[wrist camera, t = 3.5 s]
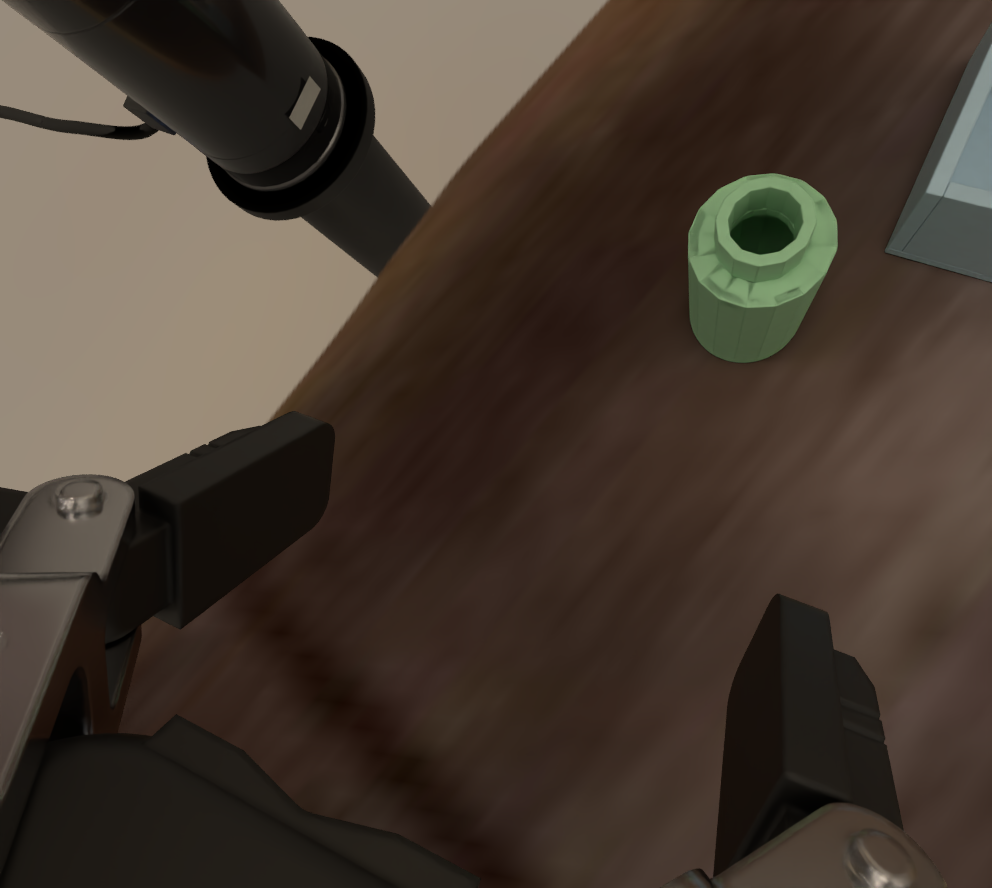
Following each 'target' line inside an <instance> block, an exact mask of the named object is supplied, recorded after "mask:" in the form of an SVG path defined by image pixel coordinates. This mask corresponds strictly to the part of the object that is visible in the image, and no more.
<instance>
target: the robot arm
mask: <svg viewBox="0 0 992 888" xmlns="http://www.w3.org/2000/svg"><path fill="white" fill-rule="evenodd" d="M2 1H4V2H5V3H6V4H8V5H9V6H10V7H11V8H13V9H14V10H16V11H17V12H18V13H19V14H21V15H22V16H23V17H25V18H26V19H27V20H29V21H30V22H31V23H33V24H34V25H36V26H37V27H38V28H40V29H41V30H42V31H44V32H45V33H46V34H47V35H49V36H50V37H52V38H53V39H54V40H56V41H57V42H58V43H59V44H61V45H62V46H63V47H65V48H66V49H67V50H68V51H70V52H71V53H72V54H74V55H75V56H76V57H78V58H79V59H80V60H82V61H83V62H84V63H86V64H87V65H88V66H89V67H91V68H92V69H93V70H95V71H96V72H97V73H99V74H100V75H101V76H103V77H104V78H105V79H107V80H108V81H109V82H110V83H112V84H113V85H114V86H116V87H117V88H118V89H120V90H121V91H122V92H124V93H125V94H126V95H127V98H126V100H125V103H124V105H123V106H124V107H125V108H126V109H128V110H129V111H130V112H132V113H133V114H134V115H136V116H137V117H138V118H140V119H141V120H142V121H144V122H145V123H143V124H141V125H136V126H112V125H104V124H96V123H89V122H82V121H73V120H61V119H55V118H49V117H45V116H41V115H37V114H33V113H30V112H26V111H23V110H19V109H15V108H11V107H6V106H1V105H0V118H4V119H9V120H14V121H18V122H22V123H25V124H29V125H32V126H36V127H39V128H43V129H47V130H51V131H56V132H62V133H71V134H80V135H88V136H95V137H102V138H110V139H119V140H138V139H144V138H148V137H150V136H152V135H153V134H155V133H157V132H158V131H159V130H160V131H163V132H166V133H169V134H172V135H175V134H176V133H177V134H179V135H180V136H181V137H183V138H184V139H185V140H186V141H188V142H189V143H190V144H192V145H193V146H194V147H196V148H197V149H198V150H199V151H200V152H202V153H203V154H204V155H206V156H207V157H208V158H210V159H211V160H212V161H214V162H215V163H216V164H218V165H219V166H220V167H222V168H223V169H224V170H225V171H226V172H227V173H228V174H229V175H230V176H231V177H232V178H233V179H235V180H236V181H237V182H239V183H240V184H241V185H243V186H244V187H246V188H248V189H250V190H253V191H256V192H261V193H279V192H284V191H288V190H291V189H293V188H296V187H298V186H300V185H302V184H303V183H305V182H307V181H308V180H310V179H311V178H312V177H314V176H315V175H316V174H317V173H318V172H319V171H320V170H321V169H322V168H323V167H324V166H325V165H326V164H327V163H328V161H329V160H330V159H331V157H332V156H333V155H334V153H335V151H336V150H337V148H338V146H339V144H340V142H341V139H342V137H343V134H344V131H345V128H346V123H347V117H348V98H347V93H346V89H345V86H344V83H343V81H342V79H341V77H340V76H339V74H338V73H337V71H336V70H335V69H334V68H333V66H332V65H331V64H330V63H329V62H328V61H327V60H326V59H325V58H324V57H323V56H322V55H321V54H320V52H319V51H318V50H317V49H316V47H315V46H314V45H313V44H312V42H311V41H310V40H309V39H308V37H307V36H306V35H305V33H304V32H303V31H302V29H301V28H300V27H299V25H298V24H297V23H296V22H295V20H294V19H293V18H292V17H291V15H290V14H289V13H288V12H287V10H286V9H285V8H284V7H283V5H282V4H281V3H280V1H279V0H2ZM334 443H335V432H334V429H333V427H332V426H331V425H330V424H328V423H325V422H323V421H320V420H317V419H315V418H312V417H309V416H307V415H304V414H301V413H299V412H295V411H292V412H289V413H287V414H285V415H283V416H281V417H279V418H277V419H274V420H272V421H270V422H268V423H266V424H264V425H262V426H256V427H252V428H246V429H241V430H237V431H232V432H229V433H227V434H225V435H223V436H221V437H219V438H217V439H214V440H212V441H210V442H209V444H208V445H206V444H204V445H202V446H200V447H198V448H196V449H194V450H192V451H191V452H190V454H187V453H185V454H183V455H181V456H179V457H177V458H174V459H172V460H170V461H168V462H166V463H164V464H162V465H159V466H157V467H155V468H153V469H151V470H149V471H147V472H145V473H143V474H140V475H138V476H136V477H134V478H132V479H130V480H128V481H126V482H123V481H121V480H119V479H116V478H113V477H109V476H103V475H73V476H66V477H62V478H58V479H54V480H51V481H48V482H45V483H43V484H41V485H39V486H37V487H35V488H34V489H32V490H31V491H30V492H24V491H18V490H13V489H7V488H1V487H0V888H478V886H479V883H480V880H481V878H479V877H477V876H475V875H473V874H471V873H469V872H468V871H466V870H464V869H462V868H460V867H458V866H456V865H455V864H453V863H451V862H449V861H447V860H445V859H443V858H442V857H440V856H438V855H436V854H434V853H432V852H431V851H429V850H427V849H425V848H423V847H421V846H419V845H418V844H416V843H414V842H412V841H410V840H408V839H406V838H405V837H403V836H401V835H399V834H396V833H392V832H388V831H383V830H379V829H375V828H371V827H367V826H363V825H358V824H354V823H350V822H346V821H342V820H338V819H333V818H329V817H325V816H321V815H317V814H313V813H310V812H307V811H305V810H303V809H301V808H300V807H299V806H298V805H297V804H296V803H295V802H294V801H293V800H292V799H291V798H290V797H289V796H288V795H287V794H286V793H285V792H284V791H283V790H282V789H281V788H280V787H279V786H278V785H277V784H276V783H275V782H274V781H273V780H272V779H271V778H270V777H269V776H268V775H267V774H266V773H265V772H264V771H263V770H262V769H261V768H260V767H259V766H258V765H257V764H256V763H255V762H254V761H253V760H252V759H251V758H250V757H249V756H248V755H247V754H246V753H245V751H243V750H241V749H240V748H238V747H236V746H234V745H232V744H230V743H228V742H227V741H225V740H223V739H221V738H219V737H217V736H215V735H214V734H212V733H210V732H208V731H206V730H204V729H203V728H201V727H199V726H197V725H195V724H193V723H191V722H190V721H188V720H186V719H184V718H182V717H180V716H178V715H177V714H176V715H175V716H174V717H173V718H172V719H171V720H169V721H168V722H167V723H166V724H165V725H164V726H163V727H162V728H161V729H160V730H158V731H157V732H156V733H155V734H154V735H153V736H147V735H138V734H129V733H118V730H119V725H120V722H121V718H122V714H123V710H124V706H125V702H126V698H127V694H128V690H129V686H130V682H131V678H132V674H133V671H134V667H135V663H136V659H137V655H138V651H139V647H140V643H141V638H142V630H141V624H142V623H144V622H145V621H147V620H148V619H149V618H151V617H152V616H154V617H156V618H158V619H160V620H162V621H164V622H166V623H168V624H170V625H172V626H174V627H176V628H178V629H182V628H183V627H184V626H186V625H187V624H188V623H190V622H191V621H192V620H194V619H195V618H196V617H197V616H199V615H200V614H201V613H203V612H204V611H205V610H207V609H208V608H209V607H210V606H212V605H213V604H214V603H216V602H217V601H218V600H220V599H221V598H222V597H224V596H225V595H226V594H227V593H229V592H230V591H231V590H233V589H234V588H235V587H237V586H238V585H239V584H240V583H242V582H243V581H244V580H246V579H247V578H248V577H250V576H251V575H252V574H254V573H255V572H256V571H257V570H259V569H260V568H261V567H263V566H264V565H265V564H267V563H268V562H269V561H270V560H272V559H273V558H274V557H276V556H277V555H278V554H280V553H281V552H282V551H283V550H285V549H286V548H287V547H289V546H290V545H291V544H293V543H294V542H295V541H297V540H298V539H299V538H300V537H302V536H303V535H304V534H306V533H307V532H308V531H310V530H311V529H312V528H313V527H314V526H315V525H316V524H317V523H318V522H319V520H320V519H321V517H322V515H323V514H324V512H325V509H326V507H327V504H328V500H329V492H330V482H331V473H332V463H333V453H334ZM879 717H880V711H879V706H878V701H877V696H876V691H875V687H874V685H873V684H872V682H871V681H870V679H869V678H868V676H867V675H866V674H865V672H864V671H863V669H862V668H861V666H860V665H859V663H858V662H857V660H856V659H855V657H852V656H849V655H847V654H844V653H842V652H839V651H837V650H834V649H833V642H832V634H831V627H830V619H829V615H828V613H827V612H826V611H823V610H821V609H818V608H815V607H813V606H810V605H807V604H805V603H802V602H799V601H797V600H794V599H791V598H789V597H786V596H783V595H781V594H776V595H775V596H774V597H773V598H772V600H771V601H770V603H769V605H768V607H767V609H766V611H765V613H764V615H763V617H762V619H761V621H760V623H759V625H758V628H757V630H756V632H755V634H754V636H753V638H752V640H751V642H750V644H749V646H748V648H747V650H746V652H745V654H744V656H743V658H742V660H741V663H740V665H739V667H738V669H737V672H736V674H735V677H734V680H733V683H732V686H731V690H730V694H729V699H728V705H727V717H726V729H725V741H724V753H723V765H722V777H721V789H720V801H719V813H718V826H717V838H716V850H715V862H714V874H713V878H711V879H709V877H708V876H707V875H706V874H705V872H704V871H703V870H702V869H693V870H690V871H688V872H686V873H683V874H682V875H680V876H678V877H677V878H675V879H673V880H672V881H670V882H669V883H667V884H665V885H664V886H662V887H661V888H947V885H946V883H945V881H944V879H943V877H942V875H941V874H940V872H939V870H938V869H937V867H936V866H935V864H934V863H933V861H932V860H931V859H930V858H929V856H928V855H927V854H926V853H925V851H924V850H923V849H922V848H921V847H920V846H919V845H918V844H917V843H916V842H915V841H914V840H913V839H912V838H911V837H910V836H909V835H908V834H906V833H905V832H904V830H903V825H902V820H901V815H900V810H899V805H898V800H897V795H896V790H895V785H894V780H893V775H892V770H891V766H890V761H889V756H888V751H887V746H886V745H885V744H884V740H885V736H884V731H883V726H882V721H880V720H879Z"/></svg>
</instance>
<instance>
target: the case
mask: <svg viewBox="0 0 992 888" xmlns="http://www.w3.org/2000/svg"><path fill="white" fill-rule="evenodd" d="M885 252H886V253H889V254H893V255H896V256H900V257H903V258H907V259H911V260H914V261H918V262H921V263H925V264H928V265H932V266H935V267H939V268H943V269H946V270H950V271H953V272H957V273H960V274H964V275H967V276H971V277H975V278H978V279H982V280H985V281H989V282H992V23H991V24H990V26H989V28H988V29H987V31H986V33H985V35H984V36H983V38H982V40H981V41H980V43H979V45H978V47H977V48H976V50H975V52H974V54H973V55H972V57H971V58H970V60H969V62H968V64H967V67H966V69H965V71H964V73H963V76H962V78H961V80H960V82H959V85H958V87H957V89H956V91H955V94H954V96H953V98H952V100H951V103H950V105H949V107H948V109H947V112H946V114H945V116H944V118H943V121H942V123H941V125H940V127H939V130H938V132H937V134H936V136H935V139H934V141H933V143H932V146H931V148H930V150H929V152H928V155H927V157H926V159H925V161H924V164H923V166H922V168H921V170H920V173H919V175H918V177H917V179H916V182H915V184H914V186H913V188H912V191H911V193H910V195H909V197H908V200H907V202H906V204H905V206H904V209H903V211H902V213H901V215H900V218H899V220H898V222H897V224H896V227H895V229H894V231H893V233H892V236H891V238H890V240H889V242H888V245H887V247H886V249H885Z"/></svg>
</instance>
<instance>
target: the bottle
mask: <svg viewBox="0 0 992 888" xmlns="http://www.w3.org/2000/svg"><path fill="white" fill-rule="evenodd" d="M837 247H838V241H837V221H836V218H835V216H834V214H833V212H832V210H831V208H830V206H829V204H828V202H827V201H826V199H825V198H824V196H823V195H821V194H820V193H819V192H817V191H816V190H815V189H813V188H812V187H811V186H810V185H808V184H807V183H806V182H804V181H802V180H800V179H796V178H792V177H788V176H784V175H780V174H774V173H772V174H762V175H752V176H746V177H743V178H741V179H739V180H737V181H735V182H732V183H730V184H728V185H726V186H724V187H722V188H720V189H719V190H717V191H716V192H715V193H714V194H713V195H712V196H711V197H710V198H709V199H708V200H707V201H706V202H705V203H704V204H703V205H702V206H701V207H700V209H699V210H698V213H697V215H696V217H695V219H694V222H693V224H692V226H691V228H690V231H689V234H688V271H689V310H690V323H691V326H692V329H693V332H694V334H695V336H696V338H697V340H698V341H699V342H700V344H701V345H702V346H703V347H704V348H705V349H706V350H707V351H709V352H710V353H711V354H713V355H715V356H716V357H719V358H721V359H723V360H727V361H731V362H737V363H747V362H755V361H759V360H762V359H765V358H768V357H770V356H772V355H774V354H775V353H777V352H778V351H780V350H781V349H782V348H783V347H785V346H786V344H787V343H788V342H789V341H790V340H791V339H792V337H794V335H795V333H796V331H797V330H798V328H799V326H800V324H801V322H802V320H803V318H804V316H805V314H806V312H807V310H808V308H809V306H810V304H811V302H812V300H813V298H814V297H815V295H816V293H817V291H818V289H819V287H820V285H821V283H822V281H823V279H824V277H825V275H826V273H827V271H828V269H829V266H830V264H831V262H832V260H833V257H834V255H835V253H836V251H837Z"/></svg>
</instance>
